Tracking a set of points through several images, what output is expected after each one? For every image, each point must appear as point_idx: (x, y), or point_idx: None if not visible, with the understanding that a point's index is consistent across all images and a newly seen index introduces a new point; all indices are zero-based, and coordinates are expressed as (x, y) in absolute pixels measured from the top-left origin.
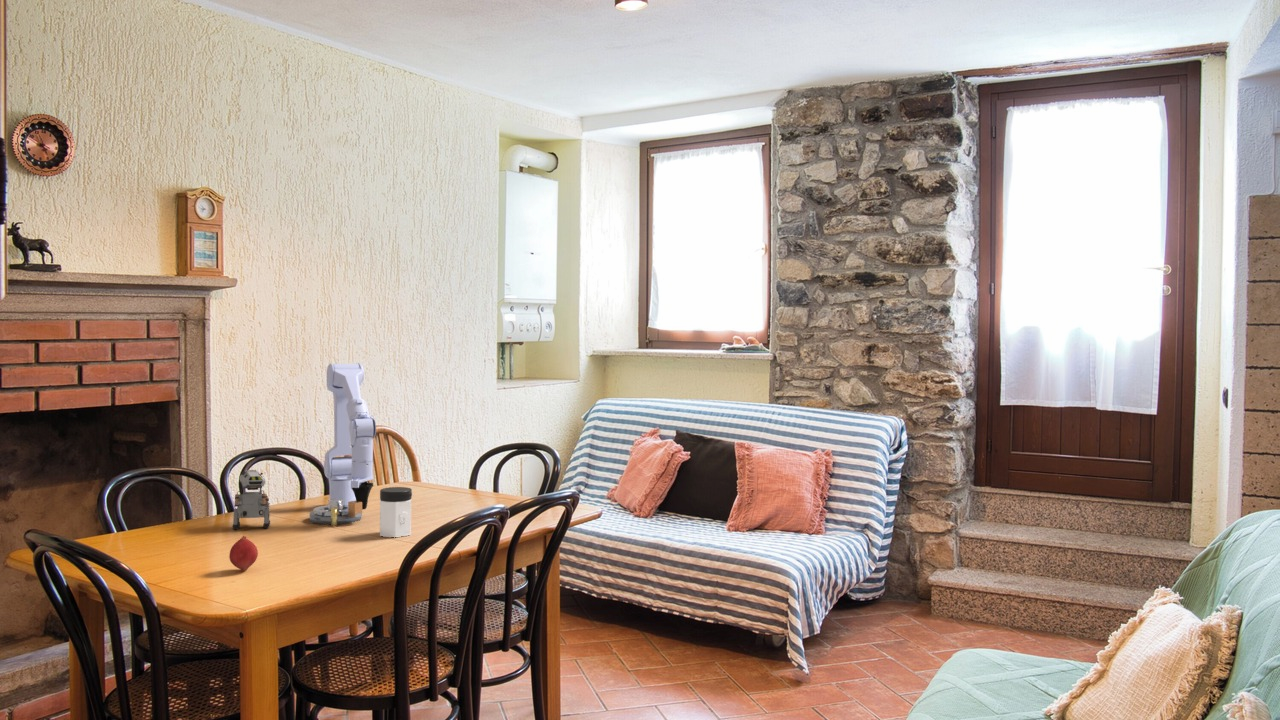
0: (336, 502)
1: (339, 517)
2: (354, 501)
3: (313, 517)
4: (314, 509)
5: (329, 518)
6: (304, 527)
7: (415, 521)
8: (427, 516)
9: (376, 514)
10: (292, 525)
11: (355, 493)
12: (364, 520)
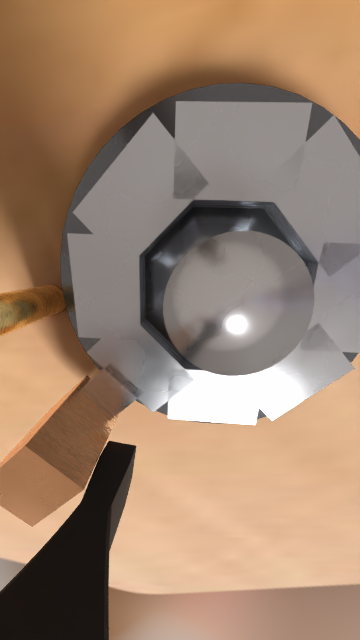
0: (166, 323)
1: (76, 330)
2: (42, 484)
3: (105, 152)
4: (195, 113)
5: (65, 274)
6: (8, 133)
7: (143, 550)
8: (221, 578)
9: (303, 448)
10: (58, 20)
11: (16, 583)
12: None
